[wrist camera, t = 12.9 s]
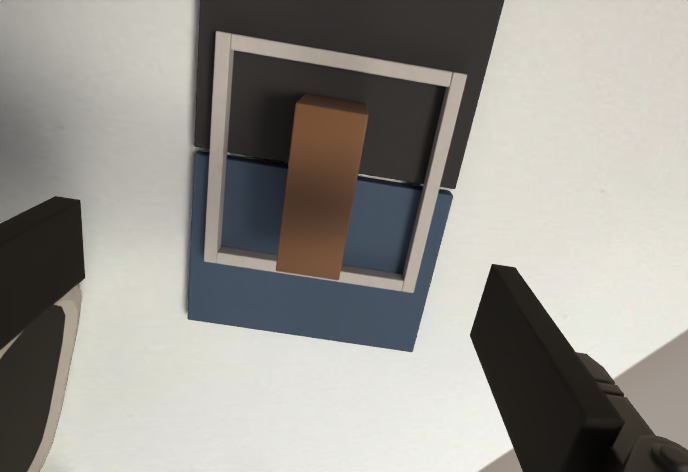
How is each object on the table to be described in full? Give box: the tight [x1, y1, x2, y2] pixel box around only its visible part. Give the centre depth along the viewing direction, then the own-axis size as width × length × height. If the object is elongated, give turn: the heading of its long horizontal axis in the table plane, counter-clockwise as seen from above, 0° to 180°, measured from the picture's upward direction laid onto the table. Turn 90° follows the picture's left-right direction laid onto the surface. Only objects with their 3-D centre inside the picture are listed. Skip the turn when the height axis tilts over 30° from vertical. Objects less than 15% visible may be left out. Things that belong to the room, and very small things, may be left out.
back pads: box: [188, 0, 504, 352], centre depth 28 cm, size 24×16×2 cm, turn 171°
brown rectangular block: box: [276, 93, 368, 281], centre depth 26 cm, size 9×4×5 cm, turn 171°
